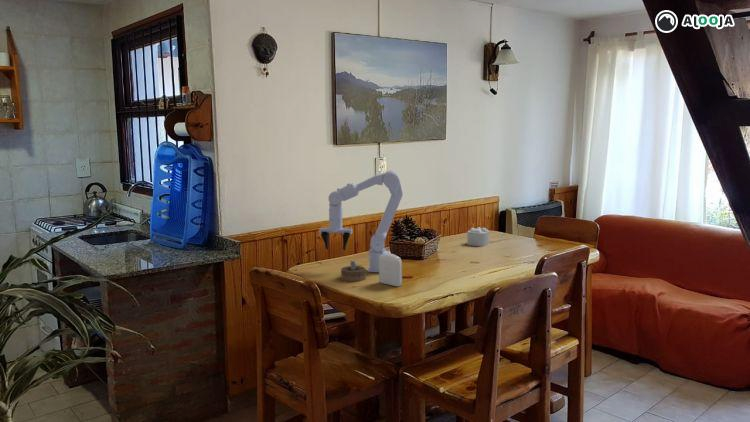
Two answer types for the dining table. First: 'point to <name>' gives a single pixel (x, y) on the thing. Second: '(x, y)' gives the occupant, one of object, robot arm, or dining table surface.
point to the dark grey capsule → (353, 265)
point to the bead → (353, 273)
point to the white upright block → (390, 269)
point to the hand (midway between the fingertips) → (335, 249)
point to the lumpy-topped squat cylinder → (478, 237)
